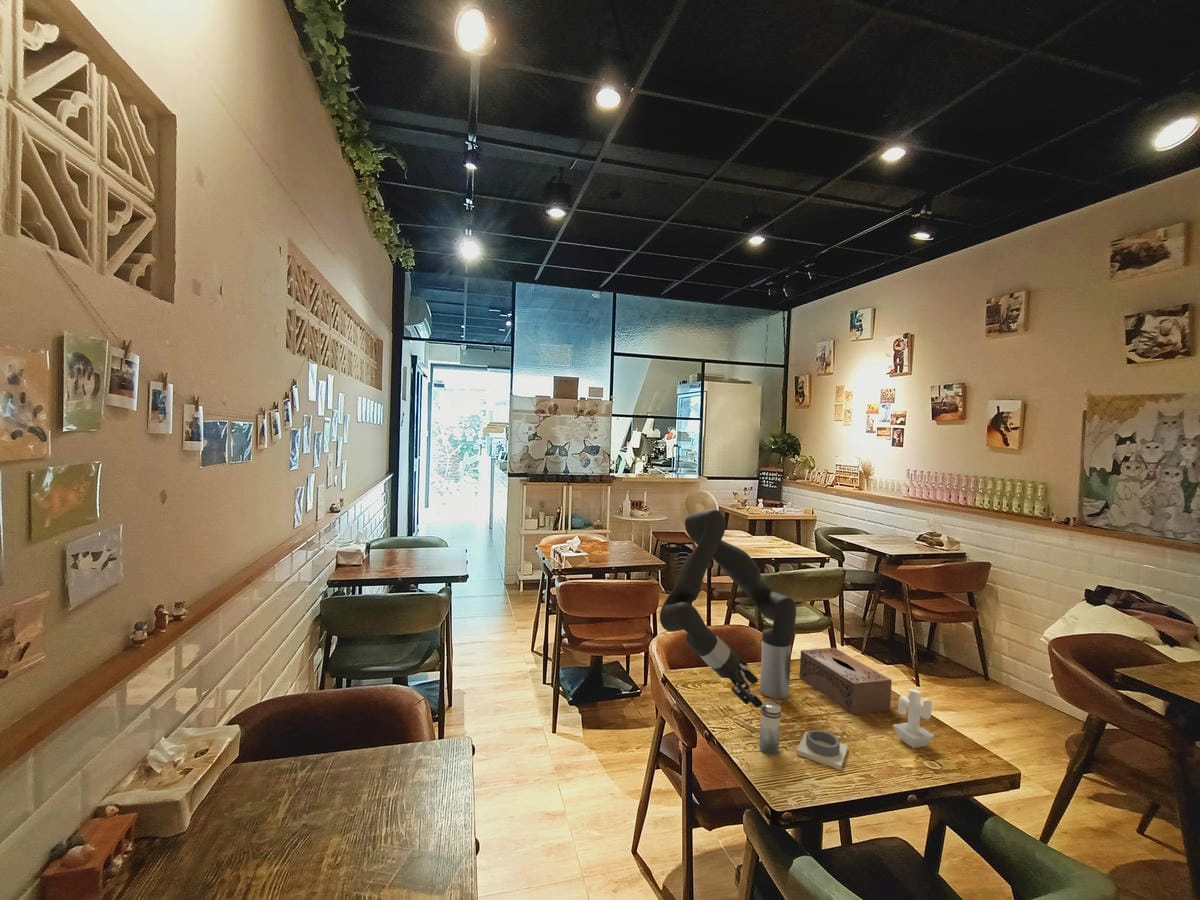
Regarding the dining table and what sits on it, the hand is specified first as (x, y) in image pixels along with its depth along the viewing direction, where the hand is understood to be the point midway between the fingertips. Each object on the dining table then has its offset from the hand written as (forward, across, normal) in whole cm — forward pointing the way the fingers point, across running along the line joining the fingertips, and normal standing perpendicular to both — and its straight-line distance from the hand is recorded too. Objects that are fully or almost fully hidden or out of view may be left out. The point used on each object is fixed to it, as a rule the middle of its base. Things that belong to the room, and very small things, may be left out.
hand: (757, 693), depth 143 cm
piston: (+10, +8, -6) cm, 14 cm away
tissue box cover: (+42, -30, +7) cm, 51 cm away
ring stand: (+21, +6, +4) cm, 22 cm away
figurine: (+42, -4, +21) cm, 47 cm away
